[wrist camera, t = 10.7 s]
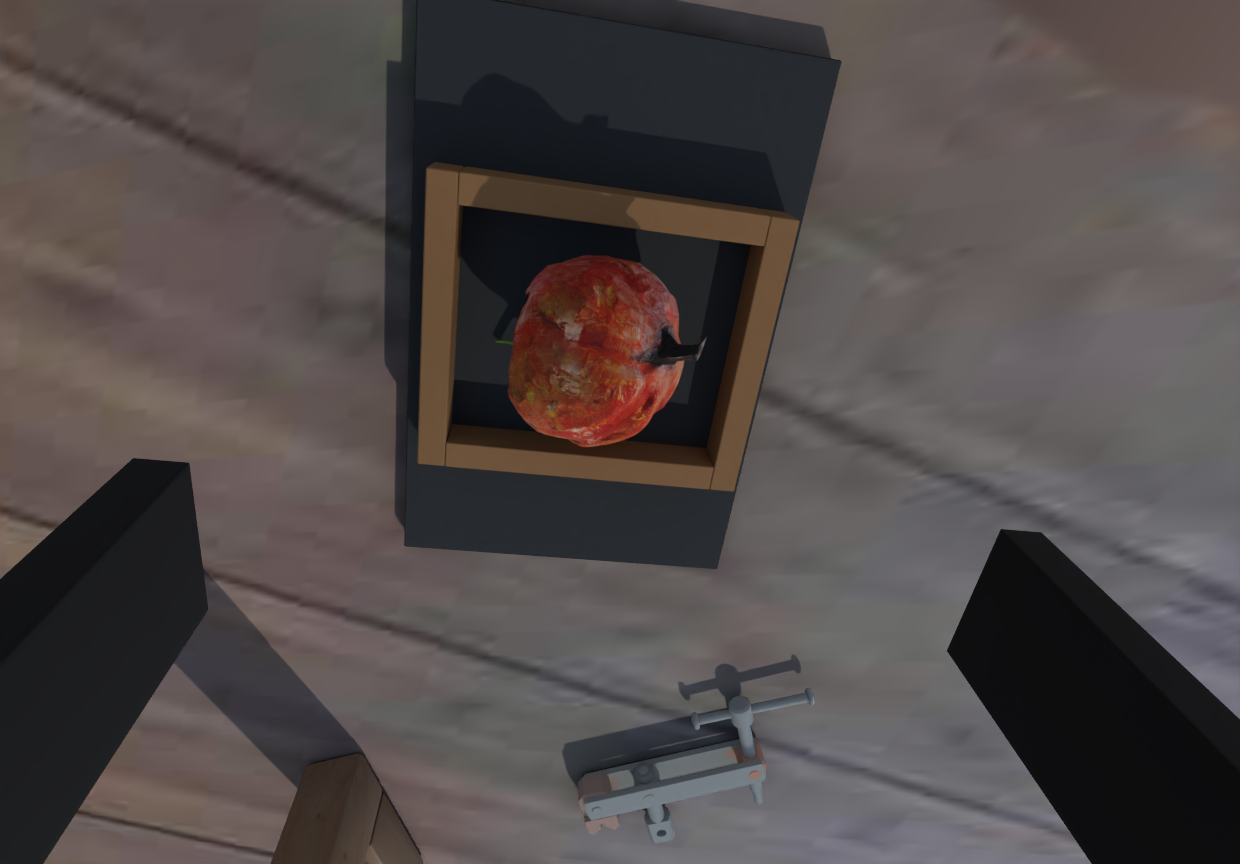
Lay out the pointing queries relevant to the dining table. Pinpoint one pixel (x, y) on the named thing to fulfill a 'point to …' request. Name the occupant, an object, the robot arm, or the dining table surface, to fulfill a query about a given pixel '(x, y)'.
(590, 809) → the clamp
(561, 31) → the back pad
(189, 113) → the dining table surface
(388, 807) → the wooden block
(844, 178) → the dining table surface
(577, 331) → the red round lump
